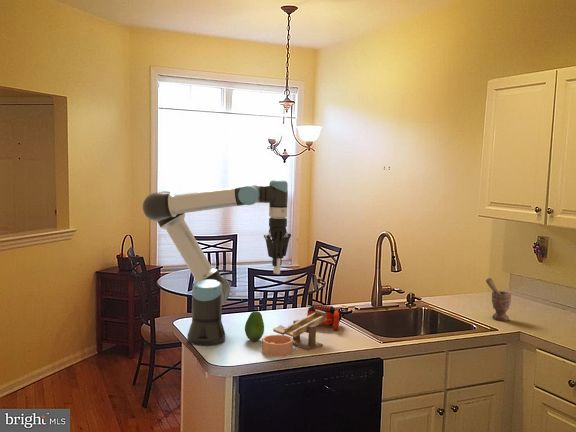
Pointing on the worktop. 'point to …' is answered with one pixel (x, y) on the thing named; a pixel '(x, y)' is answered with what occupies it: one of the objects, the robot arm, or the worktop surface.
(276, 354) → the terracotta bowl
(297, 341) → the stand
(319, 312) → the lever
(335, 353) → the worktop surface
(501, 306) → the mortar and pestle
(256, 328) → the fruit
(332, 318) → the power drill
